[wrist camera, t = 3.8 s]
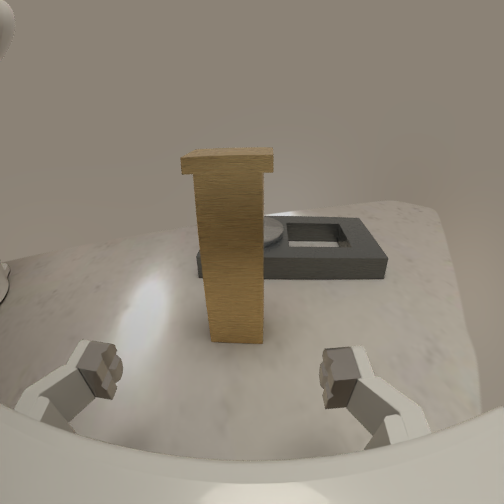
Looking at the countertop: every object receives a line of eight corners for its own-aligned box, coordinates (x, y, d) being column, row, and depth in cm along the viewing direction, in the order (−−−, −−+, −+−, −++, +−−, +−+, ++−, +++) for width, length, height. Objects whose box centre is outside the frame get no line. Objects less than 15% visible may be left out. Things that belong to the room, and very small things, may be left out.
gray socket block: (198, 277, 31) (195, 249, 29) (217, 232, 42) (215, 210, 40) (383, 278, 30) (389, 251, 28) (356, 234, 40) (359, 212, 39)
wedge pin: (203, 343, 22) (180, 157, 16) (210, 315, 25) (195, 149, 19) (270, 346, 22) (273, 155, 15) (270, 317, 25) (272, 147, 19)
